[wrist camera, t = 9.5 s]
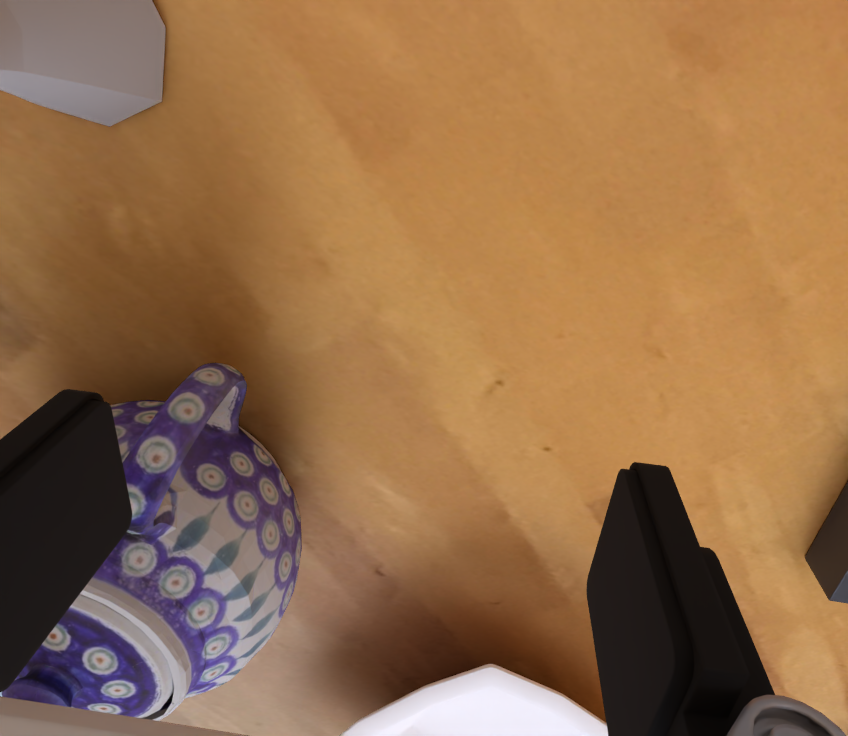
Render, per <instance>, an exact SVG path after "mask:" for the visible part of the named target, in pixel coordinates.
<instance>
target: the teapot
mask: <svg viewBox="0 0 848 736" xmlns="http://www.w3.org/2000/svg"><path fill="white" fill-rule="evenodd" d="M246 389H247V384H246V381H245V379H244V376H243V375H242V374H241V373H240V372H239V371H238V370H236V369H235V368H233V367H232V366H230V365H226V364H220V363H210V364H204V365H202V366H200V367H199V368H197V369H196V370H195V371H194V372H193V373H191V374H190V375H189V376H188V377H187V378H186V379H185V380H184V381H183V382H182V383H181V385H180V386H179V387H178V388H177V389H176V390H175V391H174V392H173V393H172V394H171V396H170V397H169V398H168V399H167V401H155V400H141V401H131V402H124V403H120V404H113V405H110V406H111V409H112V413H113V418H114V423H115V428H116V433H117V438H118V443H119V448H120V453H121V458H122V463H123V468H124V473H125V478H126V483H127V488H128V493H129V498H130V503H131V508H132V520H131V524H130V527H129V529H128V531H127V532H126V534H125V535H124V536H123V538H122V539H121V540H120V541H119V543H118V544H117V545H116V547H115V548H114V549H113V551H112V552H111V553H110V555H109V556H108V557H107V559H106V560H105V561H104V563H103V564H102V565H101V567H100V568H99V569H98V571H97V572H96V573H95V575H94V576H93V577H92V578H91V580H90V581H89V582H88V584H87V585H86V586H85V588H84V589H83V590H82V592H81V593H80V594H79V596H78V597H77V598H76V600H75V601H74V602H73V604H72V605H71V606H70V608H69V609H68V610H67V612H66V613H65V614H64V615H63V617H62V618H61V619H60V621H59V622H58V623H57V625H56V626H55V627H54V629H53V630H52V631H51V633H50V634H49V635H48V637H47V638H46V639H45V641H44V642H43V643H42V645H41V646H40V647H39V649H38V650H37V651H36V653H35V654H34V655H33V656H32V658H31V659H30V660H29V662H28V663H27V664H26V666H25V667H24V668H23V670H22V671H21V672H20V674H19V675H18V676H17V678H16V679H15V680H14V682H13V683H12V684H11V685H10V686H9V687H8V688H7V689H6V690H4V691H3V692H2V696H3V697H7V698H14V699H20V700H27V701H33V702H40V703H46V704H52V705H59V706H65V707H72V708H78V709H85V710H91V711H98V712H104V713H111V714H117V715H123V716H130V717H136V718H142V719H148V720H155V721H159V720H161V719H162V718H164V717H166V716H167V715H169V714H170V713H171V712H172V711H173V710H174V709H175V708H176V707H177V706H179V705H180V704H181V703H182V701H183V699H185V698H188V697H192V696H195V695H198V694H201V693H204V692H206V691H209V690H212V689H215V688H217V687H219V686H220V685H222V684H224V683H226V682H227V681H229V680H231V679H232V678H233V677H234V676H235V675H236V674H237V673H238V672H239V671H240V670H241V669H242V668H243V667H244V666H245V665H246V664H247V663H248V662H249V661H250V660H251V659H252V658H253V657H254V656H255V655H256V654H257V652H258V651H259V650H260V649H261V648H262V647H263V646H264V645H265V644H266V642H267V641H268V640H269V639H270V637H271V636H272V634H273V633H274V631H275V629H276V628H277V626H278V624H279V622H280V620H281V618H282V616H283V614H284V612H285V610H286V608H287V606H288V603H289V601H290V599H291V596H292V594H293V591H294V588H295V584H296V581H297V576H298V570H299V563H300V556H301V549H302V545H301V520H300V513H299V508H298V505H297V501H296V498H295V495H294V492H293V489H292V488H291V486H290V485H289V483H288V481H287V480H286V478H285V477H284V475H283V473H282V472H281V470H280V468H279V466H278V464H277V463H276V461H275V460H274V458H273V456H272V455H271V454H270V453H269V452H268V451H267V450H266V448H265V447H264V446H263V445H262V444H261V443H260V442H259V441H257V440H256V439H255V438H254V437H253V436H252V435H250V434H249V433H248V432H247V431H245V430H244V429H242V428H241V427H239V415H240V411H241V408H242V405H243V401H244V398H245V394H246Z"/></svg>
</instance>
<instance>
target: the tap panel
mask: <svg viewBox="0 0 848 736" xmlns="http://www.w3.org/2000/svg"><path fill="white" fill-rule="evenodd" d="M805 559H806V561H807V563H808V564H809V566H810V568H811V570H812V571H813V573H814V575H815V577H816V578H817V580H818V582H819V584H820V585H821V587H822V589H823V591H824V592H825V594H826V596H827V598H828V599H829V600H830V601H836V602H842V603H848V482H847V483H846V485H845V487H844V489H843V491H842V492H841V494H840V496H839V498H838V499H837V501H836V503H835V505H834V506H833V508H832V510H831V512H830V514H829V515H828V517H827V519H826V521H825V522H824V524H823V526H822V528H821V529H820V531H819V533H818V535H817V537H816V538H815V540H814V542H813V544H812V545H811V547H810V549H809V551H808V552H807V554H806V556H805Z"/></svg>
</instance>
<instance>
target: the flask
mask: <svg viewBox="0 0 848 736" xmlns="http://www.w3.org/2000/svg"><path fill="white" fill-rule="evenodd" d="M165 32H166V27H165V25H164V23H163V21H162V19H161V17H160V15H159V13H158V11H157V9H156V7H155V5H154V3H153V1H152V0H0V90H2V91H5V92H7V93H10V94H12V95H15V96H17V97H20V98H22V99H25V100H27V101H30V102H32V103H35V104H37V105H40V106H43V107H46V108H50V109H53V110H56V111H59V112H63V113H66V114H69V115H73V116H76V117H79V118H83V119H86V120H89V121H92V122H96V123H99V124H102V125H106V126H109V127H110V126H112V125H114V124H116V123H118V122H120V121H122V120H124V119H127V118H129V117H131V116H133V115H135V114H137V113H139V112H141V111H143V110H145V109H147V108H149V107H151V106H153V105H156V104H158V103H160V102H162V92H163V72H164V52H165Z"/></svg>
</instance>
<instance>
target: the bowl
mask: <svg viewBox="0 0 848 736" xmlns="http://www.w3.org/2000/svg"><path fill="white" fill-rule="evenodd" d="M339 736H608V729H607V723H606V722H604V721H603V720H601V719H600V718H598V717H597V716H595V715H594V714H592V713H591V712H589V711H588V710H586V709H585V708H583V707H582V706H580V705H579V704H577V703H576V702H574V701H573V700H571V699H570V698H568V697H567V696H565V695H564V694H562V693H560V692H558V691H555V690H553V689H551V688H548V687H546V686H544V685H541V684H539V683H537V682H534V681H532V680H530V679H527V678H525V677H523V676H521V675H518V674H516V673H514V672H511V671H509V670H507V669H504V668H502V667H500V666H497V665H494V664H486V665H483V666H480V667H478V668H475V669H472V670H469V671H466V672H463V673H460V674H457V675H454V676H451V677H448V678H445V679H442V680H439V681H437V682H434V683H431V684H428V685H425V686H423V687H421V688H419V689H417V690H415V691H413V692H411V693H409V694H407V695H405V696H403V697H401V698H400V699H398V700H396V701H394V702H392V703H390V704H388V705H386V706H384V707H382V708H380V709H378V710H376V711H374V712H372V713H370V714H368V715H367V716H365V717H363V718H361V719H359V720H358V721H356V722H355V723H354V724H353V725H351V726H350V727H349V728H348V729H346V730H345V731H344V732H343V733H342V734H340V735H339Z"/></svg>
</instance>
